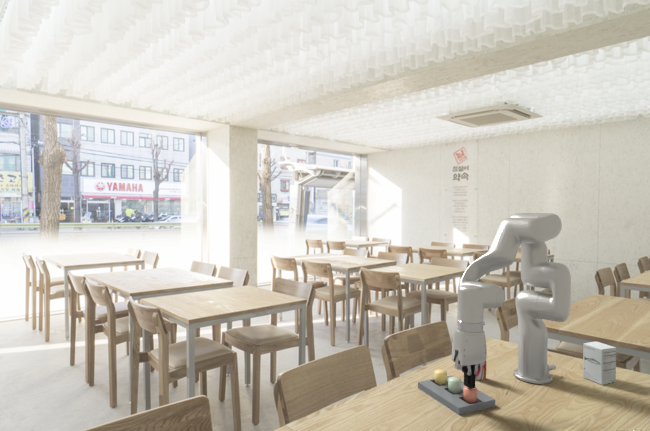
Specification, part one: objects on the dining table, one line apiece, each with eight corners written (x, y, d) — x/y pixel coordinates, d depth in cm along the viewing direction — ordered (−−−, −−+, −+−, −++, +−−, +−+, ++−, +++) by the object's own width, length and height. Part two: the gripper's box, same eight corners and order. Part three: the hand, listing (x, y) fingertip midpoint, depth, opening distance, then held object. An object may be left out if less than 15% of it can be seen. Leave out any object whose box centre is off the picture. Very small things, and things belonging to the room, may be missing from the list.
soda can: (487, 383, 144) (488, 349, 144) (466, 382, 146) (466, 348, 146) (484, 376, 151) (484, 343, 151) (464, 374, 153) (464, 342, 153)
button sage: (455, 388, 135) (455, 376, 135) (463, 393, 131) (464, 380, 131) (445, 390, 133) (445, 378, 133) (453, 395, 130) (453, 382, 130)
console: (451, 384, 144) (451, 375, 144) (495, 409, 126) (495, 399, 126) (417, 390, 139) (417, 381, 139) (458, 418, 120) (458, 408, 120)
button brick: (470, 397, 128) (470, 384, 128) (480, 402, 125) (480, 389, 125) (460, 399, 127) (460, 386, 127) (469, 405, 123) (469, 391, 123)
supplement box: (582, 377, 150) (582, 342, 150) (596, 374, 152) (596, 340, 152) (601, 385, 143) (601, 349, 143) (616, 382, 145) (617, 346, 145)
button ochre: (441, 380, 141) (441, 368, 141) (449, 384, 138) (449, 372, 138) (432, 382, 140) (432, 370, 140) (439, 386, 136) (439, 374, 136)
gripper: (480, 321, 132) (479, 378, 132) (442, 325, 126) (441, 385, 126) (498, 327, 125) (497, 387, 125) (459, 332, 119) (458, 395, 119)
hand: (469, 386), depth 126 cm, fingers closed
